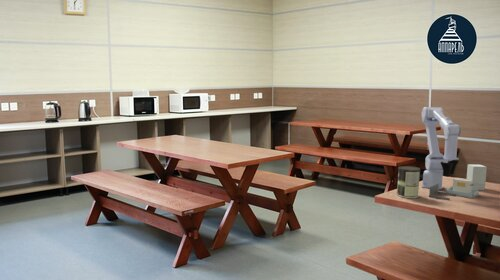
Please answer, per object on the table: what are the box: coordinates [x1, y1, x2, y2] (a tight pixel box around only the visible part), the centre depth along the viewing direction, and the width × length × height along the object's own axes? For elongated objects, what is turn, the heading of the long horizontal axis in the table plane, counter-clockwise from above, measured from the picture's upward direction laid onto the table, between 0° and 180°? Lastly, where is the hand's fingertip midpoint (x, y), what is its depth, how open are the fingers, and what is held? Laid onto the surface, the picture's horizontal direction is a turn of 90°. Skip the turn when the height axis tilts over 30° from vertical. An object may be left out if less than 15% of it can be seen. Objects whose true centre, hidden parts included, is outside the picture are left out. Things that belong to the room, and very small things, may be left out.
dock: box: [428, 183, 457, 201], centre depth 244 cm, size 10×11×5 cm
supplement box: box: [466, 163, 488, 191], centre depth 263 cm, size 7×7×13 cm
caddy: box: [452, 177, 474, 193], centre depth 249 cm, size 9×5×7 cm, turn 51°
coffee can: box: [396, 165, 421, 199], centre depth 244 cm, size 10×10×14 cm
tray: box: [445, 185, 480, 199], centre depth 250 cm, size 13×10×2 cm
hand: (448, 175), depth 248 cm, fingers open, 7 cm apart
